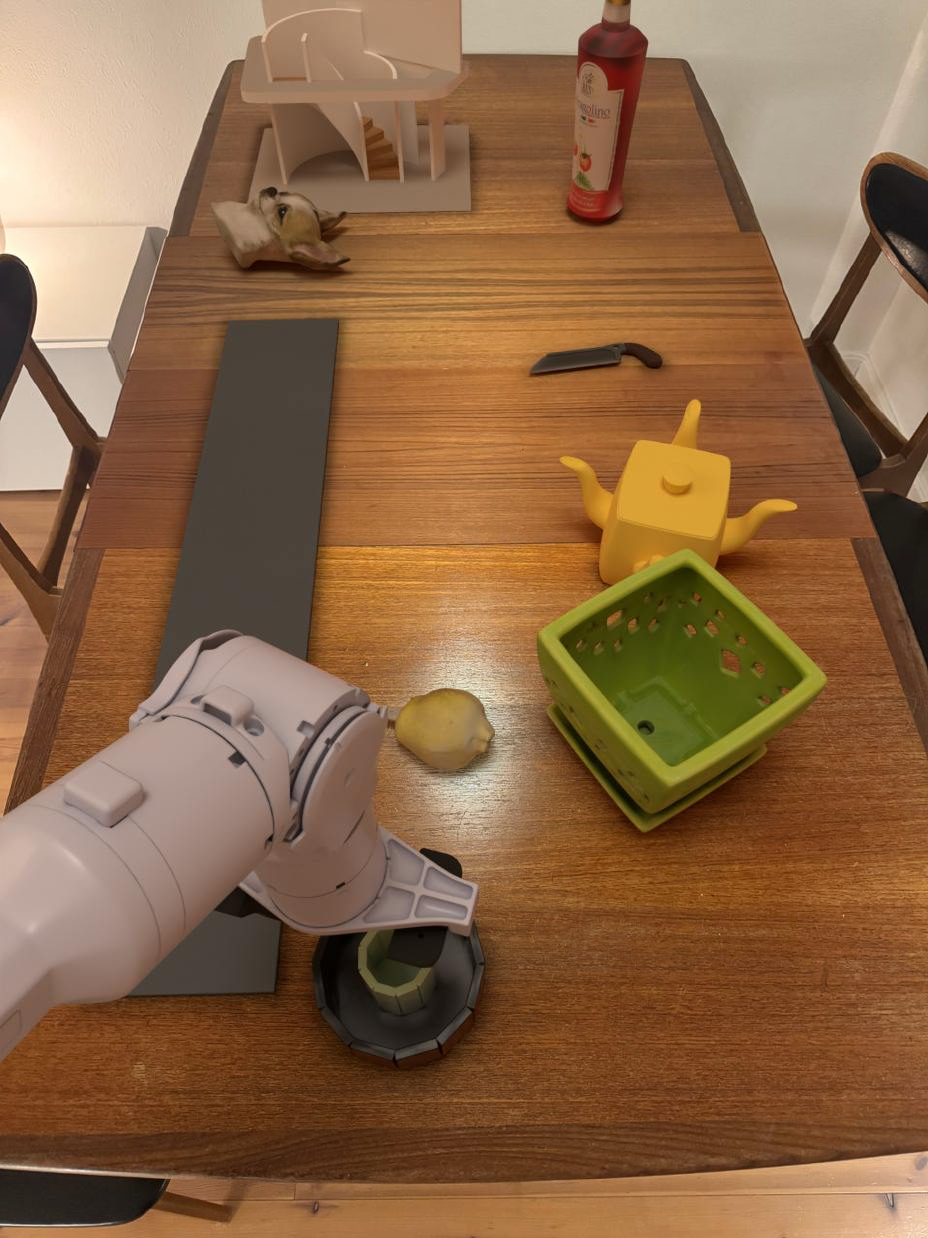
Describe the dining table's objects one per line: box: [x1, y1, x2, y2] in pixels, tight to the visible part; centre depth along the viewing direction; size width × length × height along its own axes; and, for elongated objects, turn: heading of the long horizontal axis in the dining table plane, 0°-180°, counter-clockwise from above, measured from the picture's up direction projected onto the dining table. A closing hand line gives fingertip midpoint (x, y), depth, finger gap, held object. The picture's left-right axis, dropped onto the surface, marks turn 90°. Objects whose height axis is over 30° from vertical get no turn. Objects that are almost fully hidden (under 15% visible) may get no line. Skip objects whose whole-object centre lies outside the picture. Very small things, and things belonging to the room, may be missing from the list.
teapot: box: [559, 399, 798, 603], centre depth 73 cm, size 15×14×10 cm
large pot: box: [310, 920, 486, 1071], centre depth 55 cm, size 10×10×4 cm
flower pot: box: [536, 549, 829, 834], centre depth 61 cm, size 14×14×13 cm
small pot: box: [358, 929, 436, 1015], centre depth 54 cm, size 4×4×6 cm
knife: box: [528, 342, 663, 374], centre depth 91 cm, size 14×4×1 cm, turn 100°
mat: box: [123, 318, 340, 998], centre depth 76 cm, size 69×12×1 cm, turn 1°
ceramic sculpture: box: [210, 187, 351, 271], centre depth 99 cm, size 11×9×15 cm
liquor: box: [565, 0, 649, 223], centre depth 96 cm, size 7×7×28 cm
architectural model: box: [239, 0, 472, 214], centre depth 104 cm, size 28×21×23 cm
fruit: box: [380, 687, 496, 771], centre depth 65 cm, size 6×6×10 cm
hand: (349, 920), depth 49 cm, fingers open, 7 cm apart
